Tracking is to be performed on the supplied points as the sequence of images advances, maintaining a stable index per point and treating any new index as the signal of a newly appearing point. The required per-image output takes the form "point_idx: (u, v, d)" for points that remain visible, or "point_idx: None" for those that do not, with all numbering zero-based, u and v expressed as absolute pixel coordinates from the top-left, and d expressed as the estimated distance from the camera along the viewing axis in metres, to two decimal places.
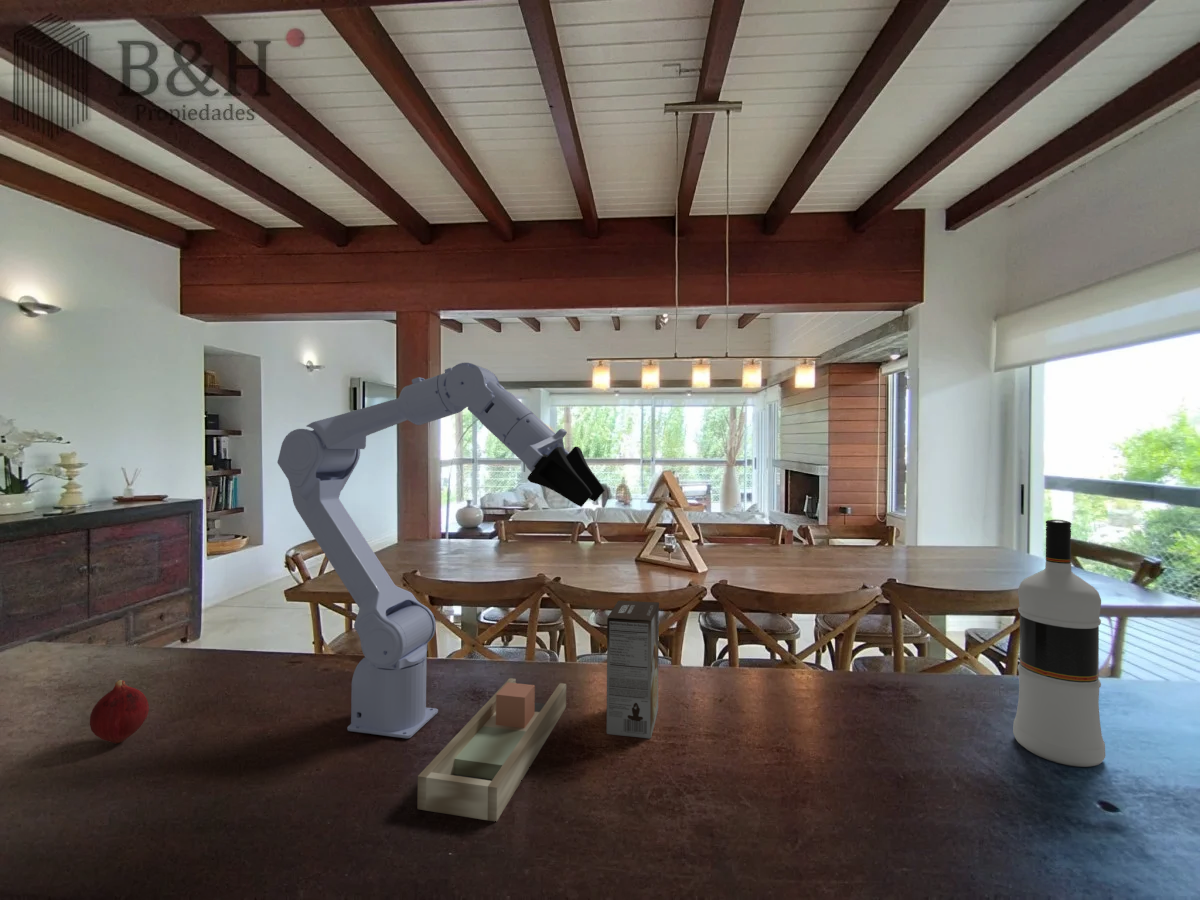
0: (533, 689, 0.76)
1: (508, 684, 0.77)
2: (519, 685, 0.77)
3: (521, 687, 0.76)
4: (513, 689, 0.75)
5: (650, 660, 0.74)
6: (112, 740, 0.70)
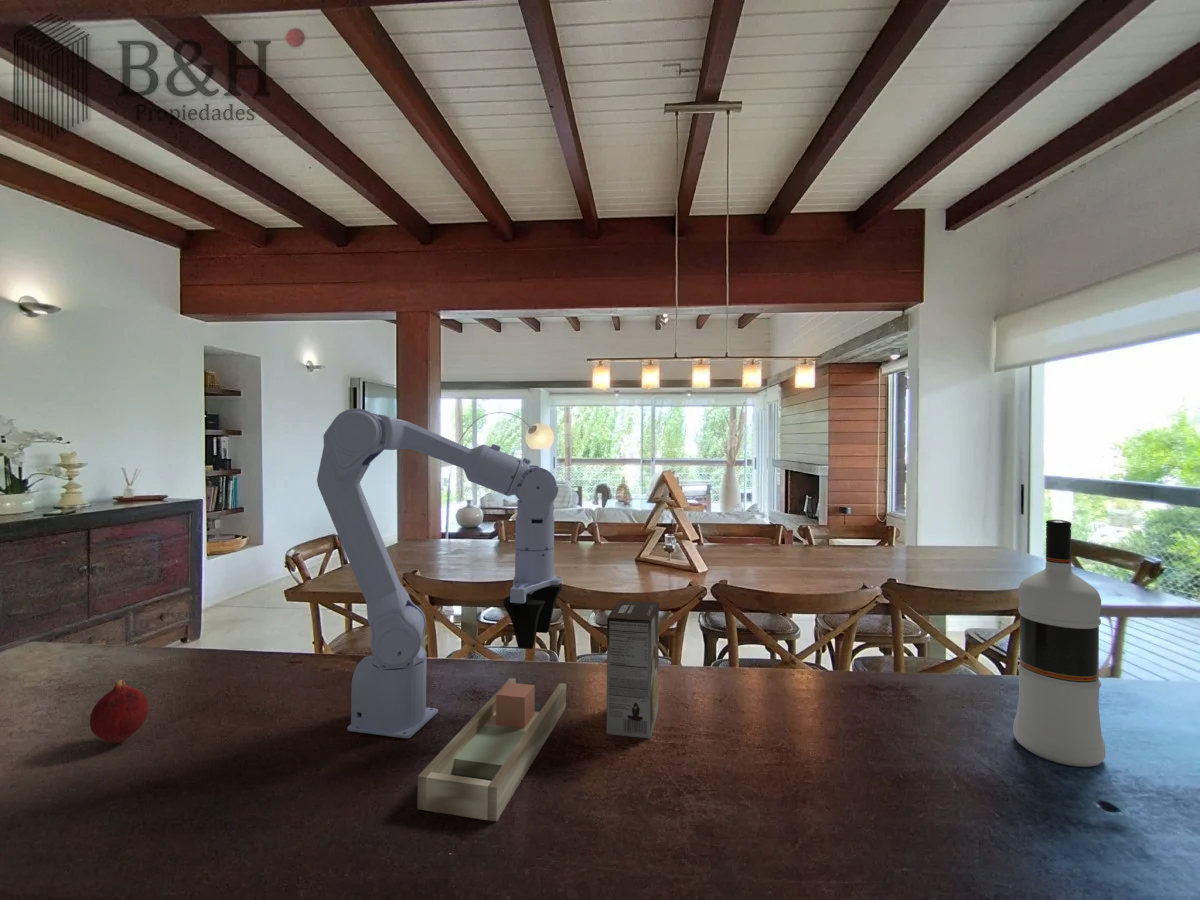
0: (533, 689, 0.76)
1: (508, 684, 0.77)
2: (519, 685, 0.77)
3: (521, 687, 0.76)
4: (513, 689, 0.75)
5: (650, 660, 0.74)
6: (112, 740, 0.70)
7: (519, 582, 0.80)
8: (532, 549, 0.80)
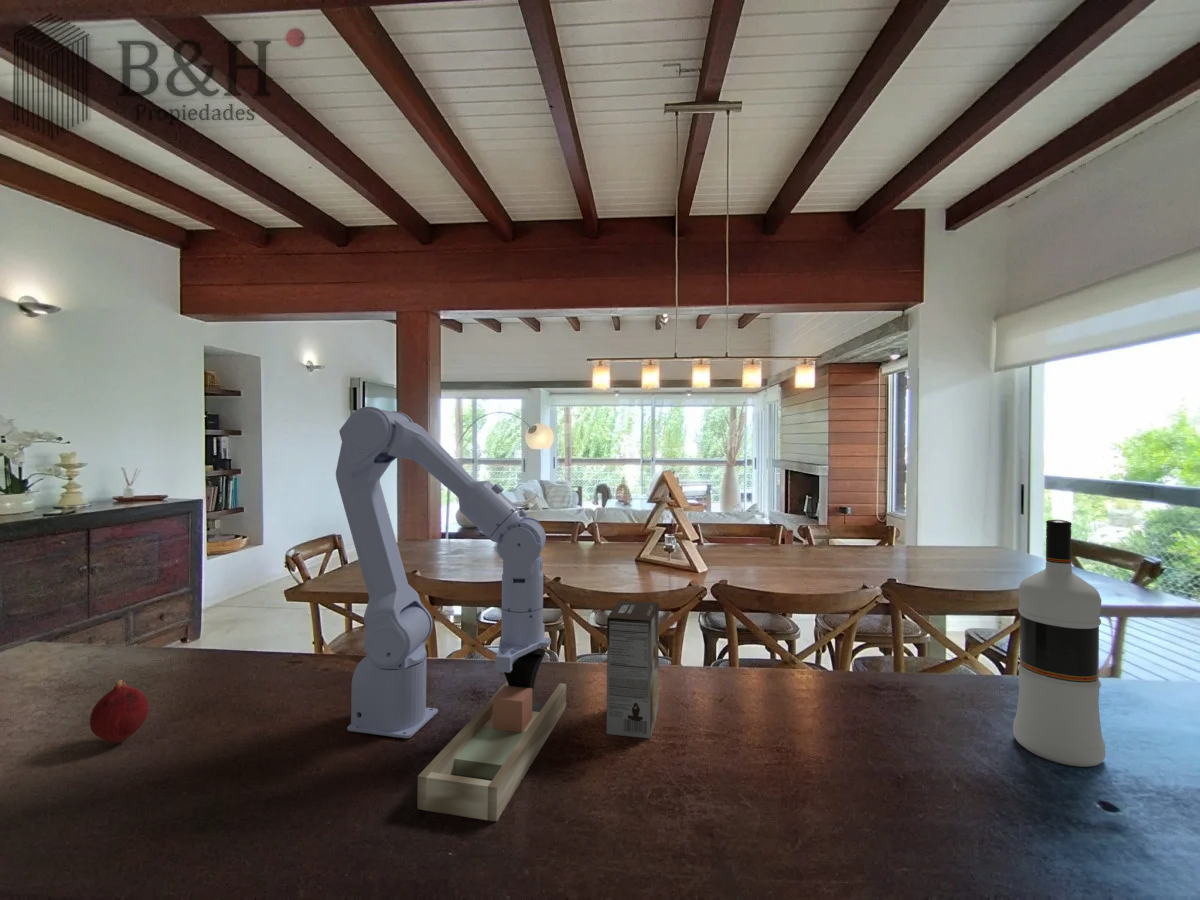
0: (531, 692, 0.75)
1: (505, 687, 0.76)
2: (516, 688, 0.75)
3: (519, 691, 0.75)
4: (510, 692, 0.74)
5: (650, 660, 0.74)
6: (112, 740, 0.70)
7: (505, 645, 0.75)
8: (514, 610, 0.75)
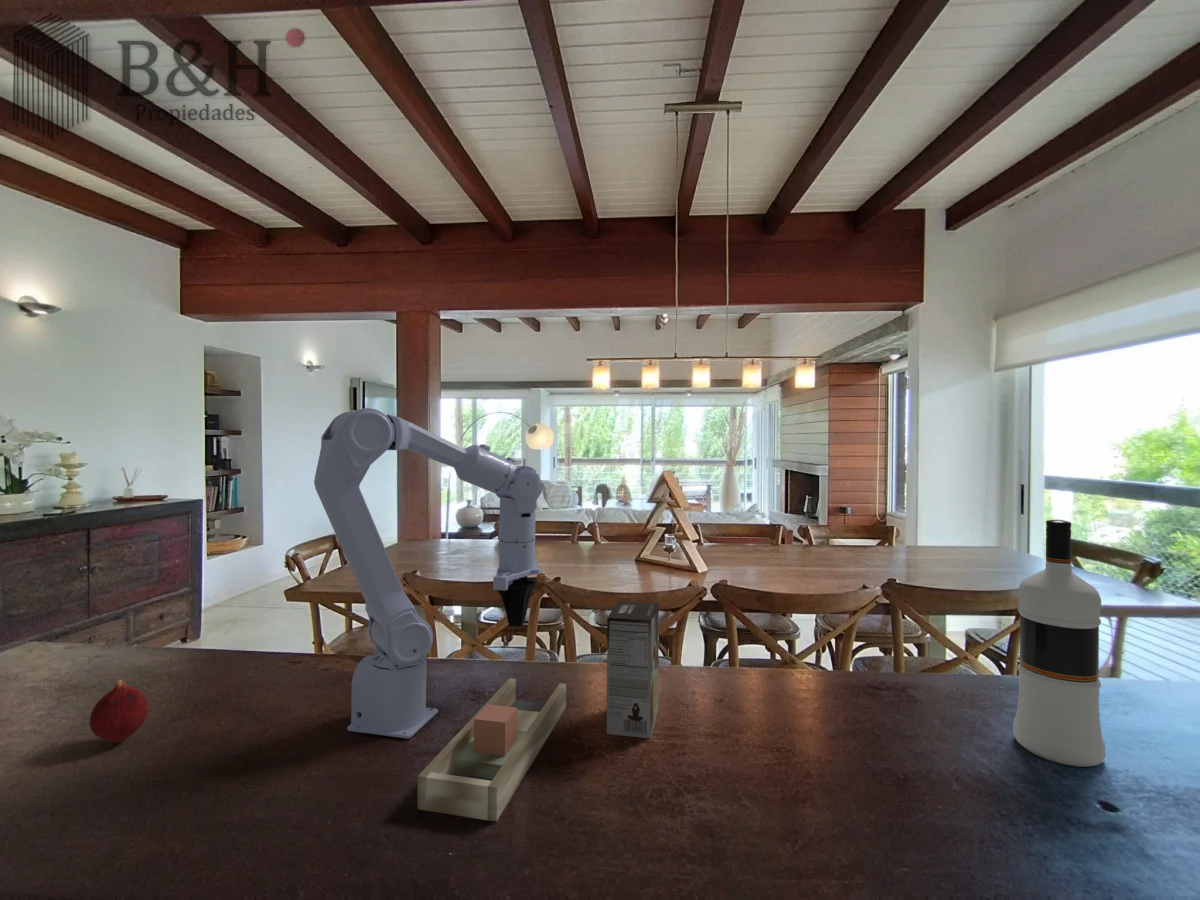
0: (515, 712, 0.69)
1: (488, 706, 0.70)
2: (500, 708, 0.70)
3: (502, 710, 0.69)
4: (493, 712, 0.68)
5: (650, 660, 0.74)
6: (112, 740, 0.70)
7: (502, 571, 0.87)
8: (522, 541, 0.87)
